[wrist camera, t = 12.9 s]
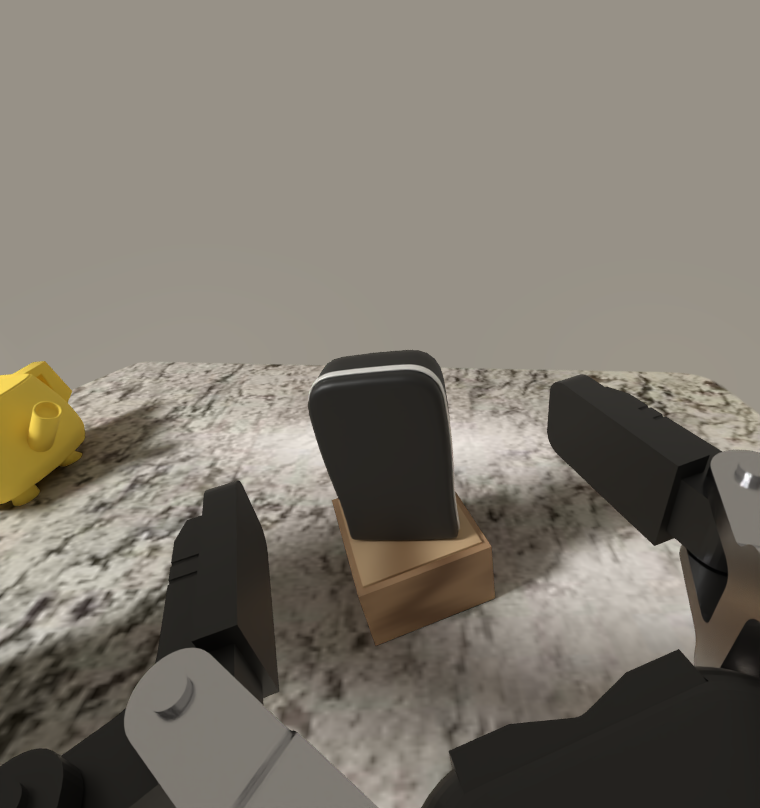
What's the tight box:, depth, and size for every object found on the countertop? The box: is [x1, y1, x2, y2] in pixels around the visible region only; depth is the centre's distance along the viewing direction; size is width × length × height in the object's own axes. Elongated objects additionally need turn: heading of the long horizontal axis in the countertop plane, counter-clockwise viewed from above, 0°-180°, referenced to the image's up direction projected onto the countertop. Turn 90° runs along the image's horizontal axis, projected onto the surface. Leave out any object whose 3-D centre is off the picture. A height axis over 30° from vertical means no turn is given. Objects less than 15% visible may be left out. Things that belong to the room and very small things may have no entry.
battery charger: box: [308, 350, 460, 540], centre depth 24 cm, size 7×4×11 cm, turn 82°
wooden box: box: [332, 492, 495, 646], centre depth 29 cm, size 8×8×5 cm
